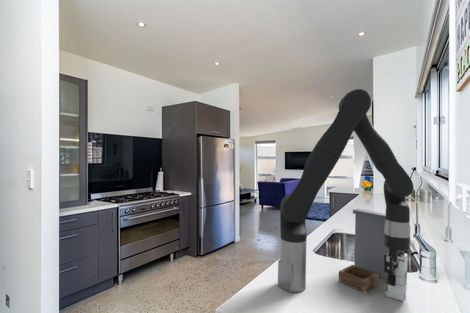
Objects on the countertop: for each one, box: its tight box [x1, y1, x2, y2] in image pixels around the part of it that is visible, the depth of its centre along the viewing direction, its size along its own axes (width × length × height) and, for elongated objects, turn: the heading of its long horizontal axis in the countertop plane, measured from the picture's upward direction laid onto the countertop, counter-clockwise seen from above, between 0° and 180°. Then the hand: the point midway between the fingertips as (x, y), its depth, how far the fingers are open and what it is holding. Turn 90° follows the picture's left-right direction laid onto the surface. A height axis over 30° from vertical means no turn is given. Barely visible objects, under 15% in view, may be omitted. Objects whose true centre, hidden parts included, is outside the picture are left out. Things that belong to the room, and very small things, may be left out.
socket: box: [338, 264, 380, 294], centre depth 97 cm, size 10×10×4 cm
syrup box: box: [384, 253, 409, 302], centre depth 89 cm, size 6×6×14 cm
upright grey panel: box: [352, 208, 389, 280], centre depth 104 cm, size 4×16×25 cm, turn 37°
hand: (395, 281), depth 89 cm, fingers closed on syrup box, 6 cm apart
